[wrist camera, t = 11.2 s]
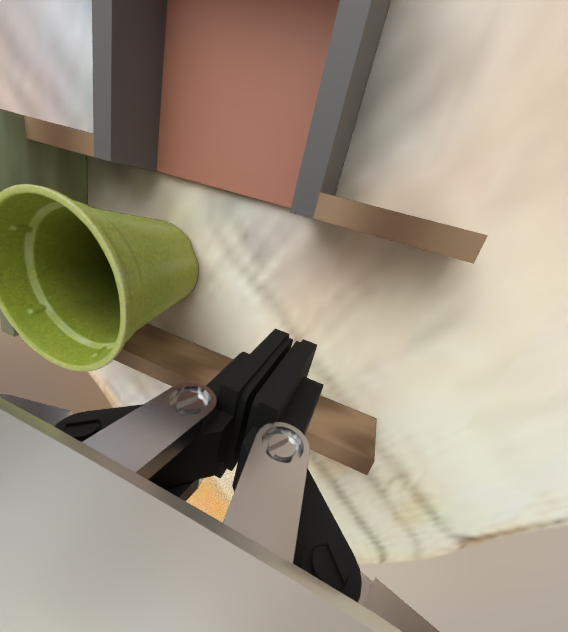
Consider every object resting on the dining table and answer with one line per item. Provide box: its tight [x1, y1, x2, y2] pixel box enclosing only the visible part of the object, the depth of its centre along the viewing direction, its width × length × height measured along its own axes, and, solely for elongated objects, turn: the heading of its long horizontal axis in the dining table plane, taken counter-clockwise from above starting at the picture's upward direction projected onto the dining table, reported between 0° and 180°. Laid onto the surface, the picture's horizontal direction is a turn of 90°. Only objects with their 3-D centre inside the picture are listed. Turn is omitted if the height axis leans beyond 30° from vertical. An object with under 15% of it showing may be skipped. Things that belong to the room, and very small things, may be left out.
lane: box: [0, 109, 488, 475], centre depth 19 cm, size 27×14×6 cm, turn 75°
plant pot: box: [0, 184, 198, 371], centre depth 19 cm, size 9×9×9 cm
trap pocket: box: [92, 0, 391, 218], centre depth 15 cm, size 13×12×4 cm
